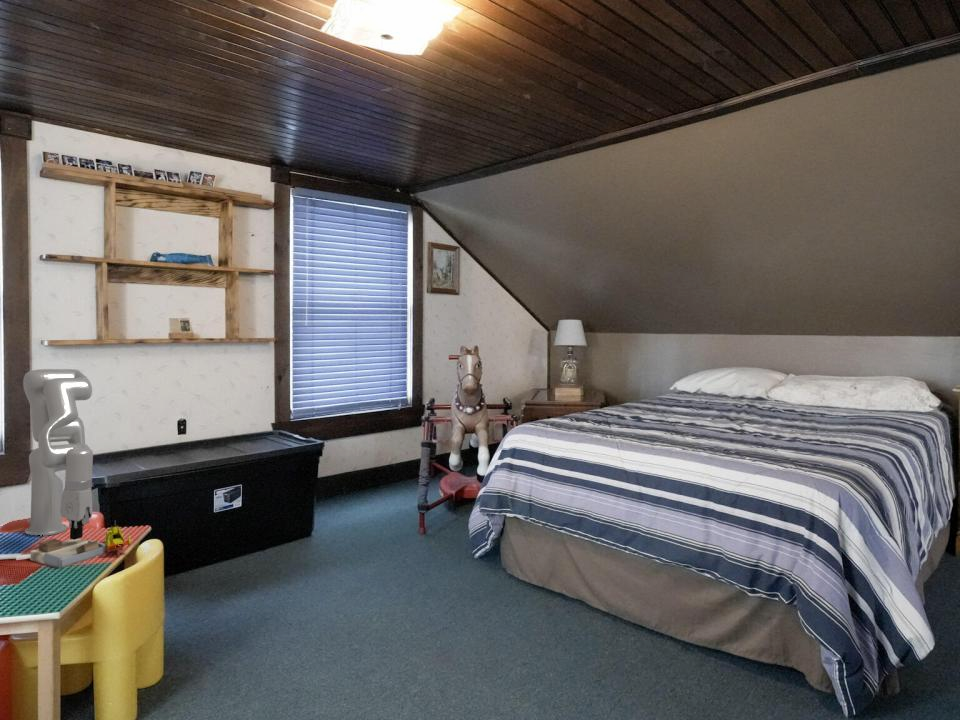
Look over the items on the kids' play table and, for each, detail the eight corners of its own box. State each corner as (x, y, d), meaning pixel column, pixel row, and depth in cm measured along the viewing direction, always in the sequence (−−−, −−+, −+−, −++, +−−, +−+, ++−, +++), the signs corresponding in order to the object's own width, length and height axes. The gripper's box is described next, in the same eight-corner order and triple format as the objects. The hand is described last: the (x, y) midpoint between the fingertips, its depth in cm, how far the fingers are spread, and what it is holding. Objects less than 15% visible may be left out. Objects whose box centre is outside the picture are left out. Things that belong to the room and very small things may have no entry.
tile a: (83, 544, 200) (85, 551, 200) (97, 540, 204) (99, 547, 204) (75, 548, 202) (77, 555, 201) (88, 544, 206) (91, 551, 205)
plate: (30, 560, 197) (30, 550, 197) (76, 546, 211) (76, 537, 211) (44, 564, 194) (44, 554, 194) (90, 550, 208) (90, 541, 208)
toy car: (108, 559, 201) (109, 529, 200) (100, 543, 215) (101, 515, 214) (130, 555, 205) (131, 526, 205) (120, 540, 219) (121, 513, 218)
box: (44, 564, 194) (44, 553, 194) (90, 550, 208) (90, 540, 208) (59, 568, 191) (59, 557, 191) (104, 554, 205) (105, 543, 205)
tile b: (38, 550, 198) (39, 542, 198) (53, 546, 202) (53, 538, 202) (47, 552, 196) (47, 544, 196) (61, 548, 200) (62, 540, 200)
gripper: (52, 483, 204) (50, 536, 205) (82, 491, 198) (79, 546, 199) (75, 478, 210) (72, 530, 211) (104, 486, 205) (101, 539, 206)
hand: (76, 538), depth 205 cm, fingers closed
